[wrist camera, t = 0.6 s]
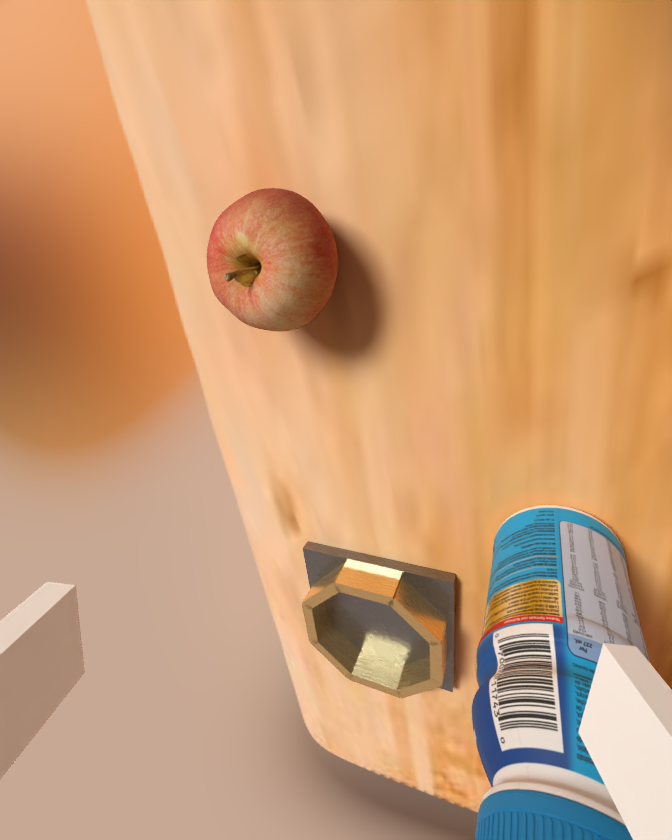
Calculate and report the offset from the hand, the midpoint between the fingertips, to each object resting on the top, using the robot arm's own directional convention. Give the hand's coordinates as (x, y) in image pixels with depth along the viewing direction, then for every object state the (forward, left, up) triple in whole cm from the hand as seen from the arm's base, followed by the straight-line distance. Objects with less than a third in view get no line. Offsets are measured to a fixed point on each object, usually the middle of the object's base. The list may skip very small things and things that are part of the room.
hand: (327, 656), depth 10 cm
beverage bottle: (+4, +14, -21) cm, 25 cm away
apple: (+1, -13, -21) cm, 25 cm away
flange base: (+22, +12, -21) cm, 33 cm away
